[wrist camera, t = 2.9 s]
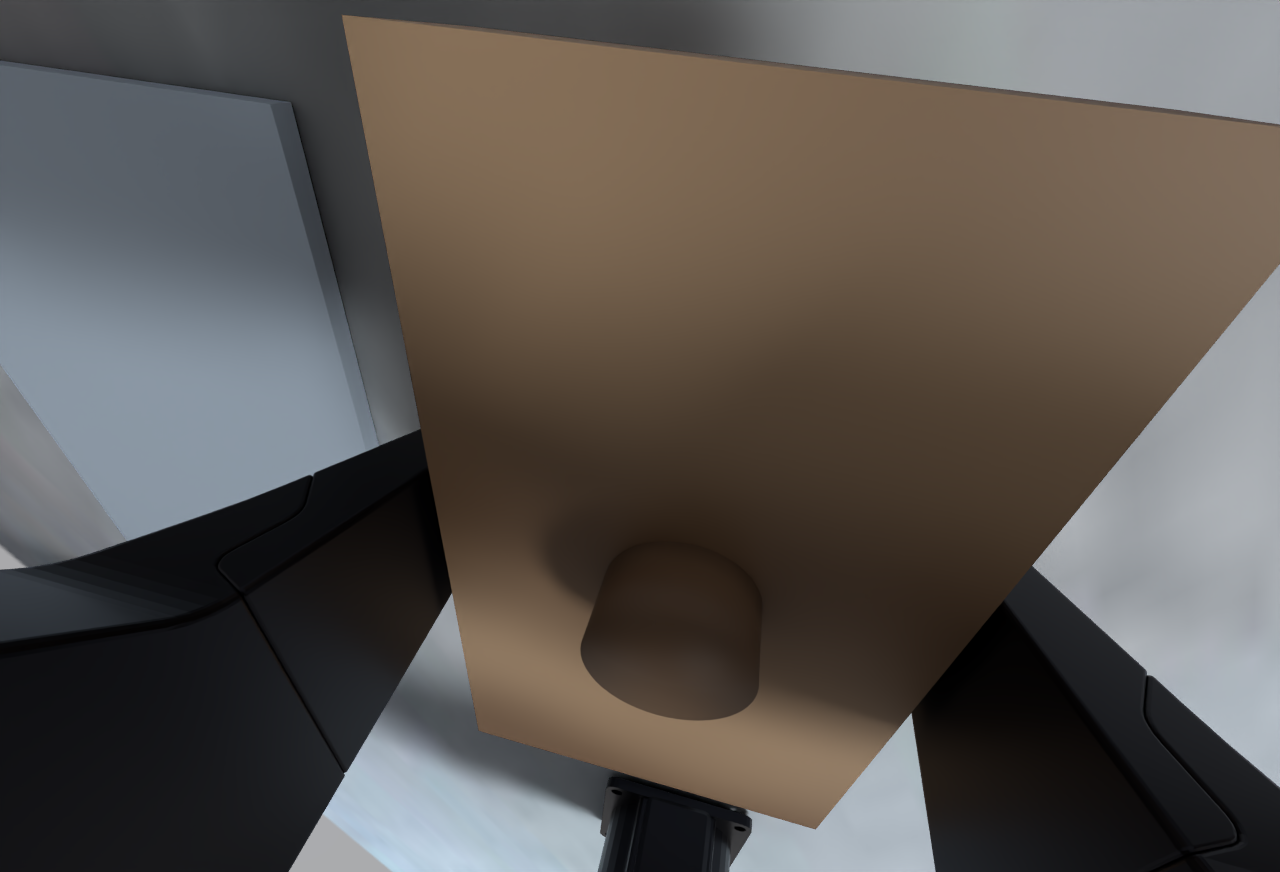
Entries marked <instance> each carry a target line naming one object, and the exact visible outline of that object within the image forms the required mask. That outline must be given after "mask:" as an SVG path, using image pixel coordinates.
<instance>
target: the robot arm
mask: <svg viewBox="0 0 1280 872" xmlns="http://www.w3.org/2000/svg"><path fill="white" fill-rule="evenodd" d="M451 594H452V589H451V584H450V578H449V573H448V568H447V563H446V557H445V552H444V547H443V542H442V537H441V531H440V526H439V521H438V516H437V510H436V505H435V500H434V495H433V489H432V484H431V479H430V474H429V469H428V463H427V458H426V453H425V448H424V442H423V437H422V432H421V429H419V430H417V431H414V432H412V433H410V434H407V435H405V436H402V437H400V438H397V439H395V440H393V441H390V442H388V443H385V444H383V445H380V446H378V447H376V448H373V449H371V450H368V451H366V452H363V453H361V454H358V455H356V456H354V457H351V458H349V459H346V460H344V461H341V462H339V463H337V464H334V465H332V466H329V467H327V468H324V469H322V470H319V471H317V472H315V473H314V474H313V476H312V475H307V476H305V477H302V478H300V479H297V480H295V481H293V482H290V483H288V484H285V485H283V486H280V487H278V488H275V489H273V490H270V491H267V492H265V493H262V494H260V495H257V496H255V497H252V498H250V499H247V500H244V501H242V502H239V503H236V504H233V505H230V506H227V507H225V508H222V509H219V510H216V511H213V512H211V513H208V514H205V515H202V516H199V517H196V518H193V519H190V520H187V521H185V522H182V523H179V524H176V525H173V526H170V527H167V528H164V529H161V530H158V531H155V532H152V533H150V534H147V535H144V536H141V537H138V538H135V539H132V540H129V541H126V542H123V543H120V544H117V545H114V546H112V547H109V548H106V549H103V550H100V551H97V552H94V553H91V554H88V555H84V556H81V557H78V558H75V559H70V560H66V561H62V562H58V563H53V564H47V565H41V566H35V567H28V568H18V569H5V570H0V872H289V870H290V868H291V867H292V865H293V863H294V862H295V860H296V858H297V856H298V855H299V853H300V851H301V850H302V848H303V846H304V844H305V843H306V841H307V839H308V837H309V836H310V834H311V833H312V831H313V829H314V828H315V826H316V824H317V822H318V821H319V819H320V817H321V816H322V814H323V812H324V811H325V809H326V807H327V805H328V804H329V802H330V800H331V799H332V797H333V795H334V794H335V792H336V790H337V788H338V787H339V785H340V783H341V782H342V780H343V778H344V776H345V775H344V773H345V772H347V771H348V769H349V767H350V766H351V764H352V762H353V761H354V759H355V757H356V755H357V754H358V752H359V750H360V749H361V747H362V745H363V743H364V742H365V740H366V738H367V737H368V735H369V733H370V732H371V730H372V728H373V726H374V725H375V723H376V721H377V720H378V718H379V716H380V715H381V713H382V711H383V709H384V708H385V706H386V704H387V703H388V701H389V699H390V698H391V696H392V694H393V692H394V691H395V689H396V687H397V686H398V684H399V682H400V681H401V679H402V677H403V675H404V674H405V672H406V670H407V669H408V667H409V665H410V663H411V662H412V660H413V658H414V657H415V655H416V653H417V652H418V650H419V648H420V646H421V645H422V643H423V641H424V640H425V638H426V636H427V635H428V633H429V631H430V629H431V628H432V626H433V624H434V623H435V621H436V619H437V618H438V616H439V614H440V612H441V611H442V609H443V607H444V606H445V604H446V602H447V601H448V599H449V597H450V595H451ZM911 713H912V719H913V726H914V732H915V739H916V745H917V752H918V758H919V765H920V772H921V778H922V785H923V791H924V798H925V804H926V811H927V817H928V824H929V831H930V837H931V844H932V850H933V857H934V863H935V870H936V872H1280V787H1278V786H1277V785H1276V784H1275V783H1274V782H1273V781H1271V780H1270V779H1269V778H1268V777H1267V776H1265V775H1264V774H1263V773H1262V772H1261V771H1260V770H1258V769H1257V768H1256V767H1255V766H1254V765H1252V764H1251V763H1250V762H1249V761H1248V760H1246V759H1245V758H1244V757H1243V756H1242V755H1241V754H1239V753H1238V752H1237V751H1236V750H1235V749H1233V748H1232V747H1231V746H1230V745H1229V744H1228V743H1226V742H1225V741H1224V740H1223V739H1222V738H1221V737H1220V736H1219V735H1217V734H1216V733H1215V732H1214V731H1213V730H1212V729H1211V728H1210V727H1208V726H1207V725H1206V724H1205V723H1204V722H1203V721H1202V720H1201V719H1199V718H1198V717H1197V716H1196V715H1195V714H1194V713H1193V712H1192V711H1190V710H1189V709H1188V708H1187V707H1186V706H1185V705H1184V704H1183V703H1181V702H1180V701H1179V700H1178V699H1177V698H1176V697H1175V696H1174V695H1173V694H1172V693H1171V692H1170V691H1168V690H1167V689H1166V688H1165V687H1164V686H1163V685H1162V684H1161V683H1160V682H1159V681H1158V680H1157V679H1155V678H1154V677H1153V676H1150V675H1147V671H1146V670H1145V669H1144V668H1143V667H1142V666H1141V665H1140V664H1139V663H1138V662H1137V661H1136V660H1134V659H1133V658H1132V657H1131V656H1130V655H1129V654H1128V653H1127V652H1126V651H1125V650H1123V649H1122V648H1121V647H1120V646H1119V645H1118V644H1117V643H1116V642H1115V641H1114V640H1113V639H1111V638H1110V637H1109V636H1108V635H1107V634H1106V633H1105V632H1104V631H1103V630H1102V629H1101V628H1099V627H1098V626H1097V625H1096V624H1095V623H1094V622H1093V621H1092V620H1091V619H1090V618H1088V617H1087V616H1086V615H1085V614H1084V613H1083V612H1082V611H1081V610H1080V609H1079V608H1078V607H1076V606H1075V605H1074V604H1073V603H1072V602H1071V601H1070V600H1069V599H1068V598H1067V597H1066V596H1064V595H1063V594H1062V593H1061V592H1060V591H1059V590H1058V589H1057V588H1056V587H1055V586H1053V585H1052V584H1051V583H1050V582H1049V581H1048V580H1047V579H1046V578H1045V577H1044V576H1043V575H1041V574H1040V573H1039V572H1038V571H1037V570H1036V569H1035V568H1034V567H1033V566H1031V567H1030V569H1029V570H1028V571H1027V572H1026V573H1025V575H1024V576H1023V577H1022V578H1021V580H1020V581H1019V582H1018V583H1017V584H1016V586H1015V587H1014V588H1013V589H1012V591H1011V592H1010V593H1009V594H1008V595H1007V597H1006V598H1005V599H1004V600H1003V602H1002V603H1001V604H1000V605H999V606H998V608H997V609H996V610H995V611H994V612H993V614H992V615H991V616H990V617H989V619H988V620H987V621H986V622H985V623H984V625H983V626H982V627H981V628H980V630H979V631H978V632H977V633H976V634H975V636H974V637H973V638H972V639H971V641H970V642H969V643H968V644H967V645H966V647H965V648H964V649H963V650H962V651H961V653H960V654H959V655H958V656H957V658H956V659H955V660H954V661H953V662H952V664H951V665H950V666H949V667H948V669H947V670H946V671H945V672H944V673H943V675H942V676H941V677H940V678H939V680H938V681H937V682H936V683H935V684H934V686H933V687H932V688H931V689H930V690H929V692H928V693H927V694H926V695H925V697H924V698H923V699H922V700H921V701H920V703H919V704H918V705H917V706H916V708H915V709H914V710H913V711H912V712H911ZM751 830H752V819H751V818H750V817H748V816H746V815H744V814H741V813H737V812H734V811H730V810H727V809H724V808H720V807H717V806H713V805H710V804H707V803H703V802H700V801H696V800H693V799H690V798H686V797H683V796H679V795H676V794H673V793H669V792H666V791H662V790H659V789H656V788H652V787H649V786H645V785H642V784H639V783H635V782H632V781H628V780H625V779H622V778H617V777H611V778H609V779H608V783H607V787H606V793H605V801H604V808H603V815H602V823H601V830H600V833H601V834H602V835H603V836H604V837H606V838H605V843H604V847H603V851H602V856H601V860H600V864H599V868H598V872H729V867H730V866H731V864H732V863H733V861H734V859H735V858H736V856H737V855H738V853H739V851H740V850H741V848H742V847H743V845H744V843H745V842H746V840H747V839H748V837H749V835H750V834H751Z"/></svg>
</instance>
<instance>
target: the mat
mask: <svg viewBox="0 0 1280 872" xmlns="http://www.w3.org/2000/svg"><path fill="white" fill-rule="evenodd" d="M0 365H1V366H2V368H3V369H4V370H5V372H6V373H7V375H8V376H9V377H10V379H11V380H12V382H13V383H14V384H15V386H16V387H17V388H18V390H19V391H20V393H21V394H22V395H23V397H24V398H25V400H26V401H27V402H28V404H29V405H30V407H31V408H32V409H33V411H34V412H35V414H36V415H37V416H38V418H39V419H40V421H41V422H42V423H43V425H44V426H45V428H46V429H47V430H48V432H49V433H50V435H51V436H52V437H53V439H54V440H55V441H56V443H57V444H58V446H59V447H60V448H61V450H62V451H63V453H64V454H65V455H66V457H67V458H68V460H69V461H70V462H71V464H72V465H73V467H74V468H75V469H76V471H77V472H78V474H79V475H80V476H81V478H82V479H83V481H84V482H85V483H86V485H87V486H88V488H89V489H90V490H91V492H92V493H93V494H94V496H95V497H96V499H97V500H98V501H99V503H100V504H101V506H102V507H103V508H104V510H105V511H106V513H107V514H108V515H109V517H110V518H111V520H112V521H113V522H114V524H115V525H116V527H117V528H118V529H119V531H120V532H121V534H122V535H123V536H124V538H125V539H126V541H129V540H132V539H135V538H138V537H141V536H144V535H147V534H150V533H152V532H155V531H158V530H161V529H164V528H167V527H170V526H173V525H176V524H179V523H182V522H185V521H187V520H190V519H193V518H196V517H199V516H202V515H205V514H208V513H211V512H213V511H216V510H219V509H222V508H225V507H227V506H230V505H233V504H236V503H239V502H242V501H244V500H247V499H250V498H252V497H255V496H257V495H260V494H262V493H265V492H267V491H270V490H273V489H275V488H278V487H280V486H283V485H285V484H288V483H290V482H293V481H295V480H297V479H300V478H302V477H305V476H307V475H312V476H313V474H314V473H315V472H317V471H319V470H322V469H324V468H327V467H329V466H332V465H334V464H337V463H339V462H341V461H344V460H346V459H349V458H351V457H354V456H356V455H358V454H361V453H363V452H366V451H368V450H371V449H373V448H376V447H378V446H379V444H378V440H377V436H376V432H375V428H374V424H373V420H372V416H371V412H370V408H369V405H368V401H367V397H366V393H365V389H364V385H363V381H362V377H361V373H360V370H359V366H358V362H357V358H356V354H355V350H354V346H353V342H352V338H351V334H350V331H349V327H348V323H347V319H346V315H345V311H344V307H343V303H342V299H341V296H340V292H339V288H338V284H337V280H336V276H335V272H334V268H333V264H332V261H331V257H330V253H329V249H328V245H327V241H326V237H325V233H324V229H323V225H322V222H321V218H320V214H319V210H318V206H317V202H316V198H315V194H314V190H313V187H312V183H311V179H310V175H309V171H308V167H307V163H306V159H305V155H304V151H303V148H302V144H301V140H300V136H299V132H298V128H297V124H296V120H295V116H294V113H293V109H292V105H291V102H286V101H279V100H272V99H265V98H258V97H251V96H244V95H237V94H230V93H223V92H216V91H209V90H202V89H195V88H188V87H181V86H174V85H168V84H161V83H154V82H147V81H140V80H133V79H126V78H119V77H112V76H105V75H98V74H91V73H84V72H77V71H70V70H63V69H56V68H49V67H42V66H35V65H28V64H21V63H14V62H7V61H1V60H0Z"/></svg>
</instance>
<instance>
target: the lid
mask: <svg viewBox="0 0 1280 872" xmlns="http://www.w3.org/2000/svg"><path fill="white" fill-rule="evenodd" d="M342 19H343V24H344V30H345V35H346V40H347V45H348V50H349V56H350V61H351V66H352V71H353V77H354V82H355V87H356V92H357V98H358V103H359V108H360V113H361V118H362V124H363V129H364V134H365V139H366V145H367V150H368V155H369V160H370V165H371V171H372V176H373V181H374V186H375V192H376V197H377V202H378V207H379V212H380V218H381V223H382V228H383V233H384V239H385V244H386V249H387V254H388V260H389V265H390V270H391V275H392V280H393V286H394V291H395V296H396V301H397V307H398V312H399V317H400V322H401V327H402V333H403V338H404V343H405V348H406V354H407V359H408V364H409V369H410V375H411V380H412V385H413V390H414V395H415V401H416V406H417V411H418V416H419V422H420V427H421V432H422V437H423V442H424V448H425V453H426V458H427V463H428V469H429V474H430V479H431V484H432V489H433V495H434V500H435V505H436V510H437V516H438V521H439V526H440V531H441V537H442V542H443V547H444V552H445V557H446V563H447V568H448V573H449V578H450V584H451V589H452V594H453V599H454V604H455V610H456V615H457V620H458V625H459V631H460V636H461V641H462V646H463V652H464V657H465V662H466V667H467V672H468V678H469V683H470V688H471V693H472V699H473V704H474V709H475V714H476V719H477V725H478V730H479V731H481V732H485V733H488V734H491V735H495V736H498V737H502V738H505V739H509V740H512V741H515V742H519V743H522V744H526V745H529V746H532V747H536V748H539V749H543V750H546V751H550V752H553V753H556V754H560V755H563V756H567V757H570V758H573V759H577V760H580V761H584V762H587V763H591V764H594V765H597V766H601V767H604V768H608V769H611V770H614V771H618V772H621V773H625V774H628V775H632V776H635V777H638V778H642V779H645V780H649V781H652V782H655V783H659V784H662V785H666V786H669V787H673V788H676V789H679V790H683V791H686V792H690V793H693V794H696V795H700V796H703V797H707V798H710V799H714V800H717V801H720V802H724V803H727V804H731V805H734V806H737V807H741V808H744V809H748V810H751V811H754V812H758V813H761V814H765V815H768V816H772V817H775V818H778V819H782V820H785V821H789V822H792V823H795V824H799V825H802V826H806V827H809V828H813V829H816V828H817V827H818V826H819V825H820V823H821V822H822V821H823V820H824V818H825V817H826V816H827V815H828V814H829V812H830V811H831V810H832V809H833V807H834V806H835V805H836V804H837V803H838V801H839V800H840V799H841V798H842V797H843V795H844V794H845V793H846V792H847V790H848V789H849V788H850V787H851V786H852V784H853V783H854V782H855V781H856V779H857V778H858V777H859V776H860V775H861V773H862V772H863V771H864V770H865V768H866V767H867V766H868V765H869V764H870V762H871V761H872V760H873V759H874V758H875V756H876V755H877V754H878V753H879V751H880V750H881V749H882V748H883V747H884V745H885V744H886V743H887V742H888V740H889V739H890V738H891V737H892V736H893V734H894V733H895V732H896V731H897V729H898V728H899V727H900V726H901V725H902V723H903V722H904V721H905V720H906V719H907V717H908V716H909V715H910V714H911V712H912V711H913V710H914V709H915V708H916V706H917V705H918V704H919V703H920V701H921V700H922V699H923V698H924V697H925V695H926V694H927V693H928V692H929V690H930V689H931V688H932V687H933V686H934V684H935V683H936V682H937V681H938V680H939V678H940V677H941V676H942V675H943V673H944V672H945V671H946V670H947V669H948V667H949V666H950V665H951V664H952V662H953V661H954V660H955V659H956V658H957V656H958V655H959V654H960V653H961V651H962V650H963V649H964V648H965V647H966V645H967V644H968V643H969V642H970V641H971V639H972V638H973V637H974V636H975V634H976V633H977V632H978V631H979V630H980V628H981V627H982V626H983V625H984V623H985V622H986V621H987V620H988V619H989V617H990V616H991V615H992V614H993V612H994V611H995V610H996V609H997V608H998V606H999V605H1000V604H1001V603H1002V602H1003V600H1004V599H1005V598H1006V597H1007V595H1008V594H1009V593H1010V592H1011V591H1012V589H1013V588H1014V587H1015V586H1016V584H1017V583H1018V582H1019V581H1020V580H1021V578H1022V577H1023V576H1024V575H1025V573H1026V572H1027V571H1028V570H1029V569H1030V567H1031V566H1032V565H1033V564H1034V563H1035V561H1036V560H1037V559H1038V558H1039V556H1040V555H1041V554H1042V553H1043V552H1044V550H1045V549H1046V548H1047V547H1048V545H1049V544H1050V543H1051V542H1052V541H1053V539H1054V538H1055V537H1056V536H1057V534H1058V533H1059V532H1060V531H1061V530H1062V528H1063V527H1064V526H1065V525H1066V524H1067V522H1068V521H1069V520H1070V519H1071V517H1072V516H1073V515H1074V514H1075V513H1076V511H1077V510H1078V509H1079V508H1080V506H1081V505H1082V504H1083V503H1084V502H1085V500H1086V499H1087V498H1088V497H1089V495H1090V494H1091V493H1092V492H1093V491H1094V489H1095V488H1096V487H1097V486H1098V485H1099V483H1100V482H1101V481H1102V480H1103V478H1104V477H1105V476H1106V475H1107V474H1108V472H1109V471H1110V470H1111V469H1112V467H1113V466H1114V465H1115V464H1116V463H1117V461H1118V460H1119V459H1120V458H1121V456H1122V455H1123V454H1124V453H1125V452H1126V450H1127V449H1128V448H1129V447H1130V446H1131V444H1132V443H1133V442H1134V441H1135V439H1136V438H1137V437H1138V436H1139V435H1140V433H1141V432H1142V431H1143V430H1144V428H1145V427H1146V426H1147V425H1148V424H1149V422H1150V421H1151V420H1152V419H1153V417H1154V416H1155V415H1156V414H1157V413H1158V411H1159V410H1160V409H1161V408H1162V407H1163V405H1164V404H1165V403H1166V402H1167V400H1168V399H1169V398H1170V397H1171V396H1172V394H1173V393H1174V392H1175V391H1176V389H1177V388H1178V387H1179V386H1180V385H1181V383H1182V382H1183V381H1184V380H1185V378H1186V377H1187V376H1188V375H1189V374H1190V372H1191V371H1192V370H1193V369H1194V368H1195V366H1196V365H1197V364H1198V363H1199V361H1200V360H1201V359H1202V358H1203V357H1204V355H1205V354H1206V353H1207V352H1208V350H1209V349H1210V348H1211V347H1212V346H1213V344H1214V343H1215V342H1216V341H1217V339H1218V338H1219V337H1220V336H1221V335H1222V333H1223V332H1224V331H1225V330H1226V329H1227V327H1228V326H1229V325H1230V324H1231V322H1232V321H1233V320H1234V319H1235V318H1236V316H1237V315H1238V314H1239V313H1240V311H1241V310H1242V309H1243V308H1244V307H1245V305H1246V304H1247V303H1248V302H1249V300H1250V299H1251V298H1252V297H1253V296H1254V294H1255V293H1256V292H1257V291H1258V290H1259V288H1260V287H1261V286H1262V285H1263V283H1264V282H1265V281H1266V280H1267V279H1268V277H1269V276H1270V275H1271V274H1272V272H1273V271H1274V270H1275V269H1276V268H1277V266H1278V265H1279V264H1280V125H1279V124H1272V123H1265V122H1258V121H1251V120H1244V119H1237V118H1230V117H1223V116H1216V115H1209V114H1202V113H1195V112H1188V111H1181V110H1173V109H1165V108H1156V107H1148V106H1139V105H1131V104H1123V103H1114V102H1106V101H1097V100H1089V99H1080V98H1072V97H1063V96H1055V95H1047V94H1038V93H1030V92H1021V91H1013V90H1004V89H996V88H987V87H979V86H971V85H962V84H954V83H945V82H937V81H928V80H920V79H912V78H903V77H895V76H886V75H878V74H869V73H861V72H852V71H844V70H836V69H827V68H819V67H810V66H802V65H793V64H785V63H776V62H768V61H760V60H751V59H743V58H734V57H726V56H717V55H709V54H701V53H692V52H684V51H675V50H667V49H658V48H650V47H641V46H633V45H625V44H616V43H608V42H599V41H591V40H582V39H574V38H566V37H557V36H549V35H540V34H532V33H523V32H515V31H506V30H498V29H490V28H481V27H473V26H461V25H450V24H439V23H428V22H416V21H405V20H394V19H383V18H371V17H360V16H349V15H342Z"/></svg>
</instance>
